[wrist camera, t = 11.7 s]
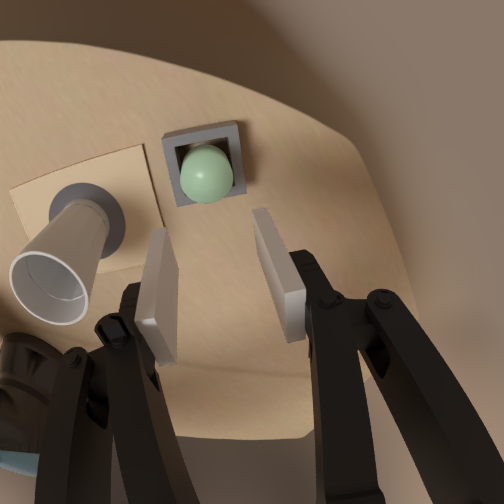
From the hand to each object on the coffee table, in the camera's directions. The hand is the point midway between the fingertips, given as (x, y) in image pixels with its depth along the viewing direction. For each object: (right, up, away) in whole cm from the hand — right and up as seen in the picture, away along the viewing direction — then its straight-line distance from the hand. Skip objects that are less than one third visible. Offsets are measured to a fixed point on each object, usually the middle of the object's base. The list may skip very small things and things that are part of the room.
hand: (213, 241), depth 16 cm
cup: (-17, +3, +15) cm, 23 cm away
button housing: (-3, +9, +14) cm, 17 cm away
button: (-2, +7, +11) cm, 14 cm away
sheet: (-17, +3, +15) cm, 23 cm away
